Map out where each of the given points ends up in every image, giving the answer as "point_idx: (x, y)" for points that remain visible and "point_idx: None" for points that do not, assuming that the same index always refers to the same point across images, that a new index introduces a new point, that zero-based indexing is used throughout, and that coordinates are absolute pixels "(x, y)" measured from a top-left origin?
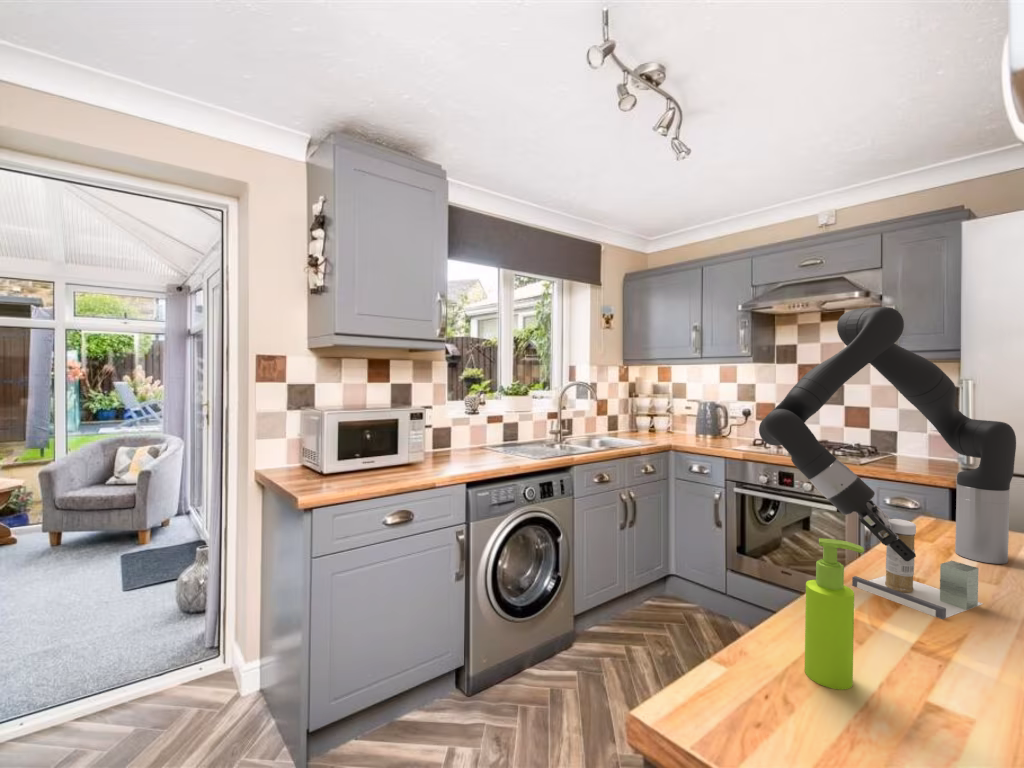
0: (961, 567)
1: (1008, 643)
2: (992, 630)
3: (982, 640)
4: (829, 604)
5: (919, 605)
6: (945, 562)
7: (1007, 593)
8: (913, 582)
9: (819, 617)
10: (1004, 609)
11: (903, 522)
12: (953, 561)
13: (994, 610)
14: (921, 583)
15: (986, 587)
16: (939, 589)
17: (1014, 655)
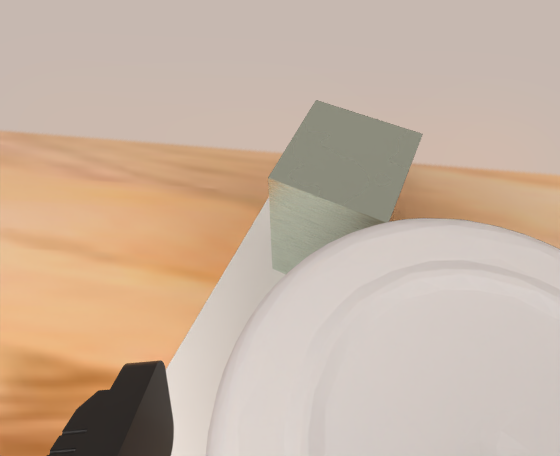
0: (367, 149)
1: (475, 178)
2: (412, 199)
3: (517, 223)
4: None
5: None
6: (333, 202)
7: (53, 148)
8: (179, 394)
9: None
10: (208, 165)
11: (506, 403)
12: (280, 172)
13: (236, 184)
14: (174, 362)
15: (19, 186)
16: (212, 300)
17: (544, 175)
